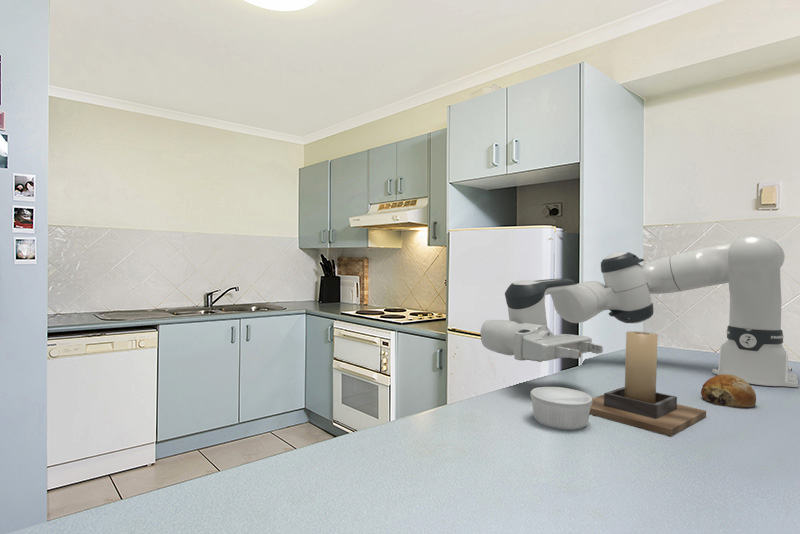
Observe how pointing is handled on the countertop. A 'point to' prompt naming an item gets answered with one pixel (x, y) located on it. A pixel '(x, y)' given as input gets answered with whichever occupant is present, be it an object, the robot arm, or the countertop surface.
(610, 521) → the countertop surface
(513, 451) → the countertop surface
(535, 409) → the ramekin
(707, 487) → the countertop surface
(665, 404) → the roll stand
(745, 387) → the bread roll
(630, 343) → the beige pillar candle
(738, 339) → the robot arm
